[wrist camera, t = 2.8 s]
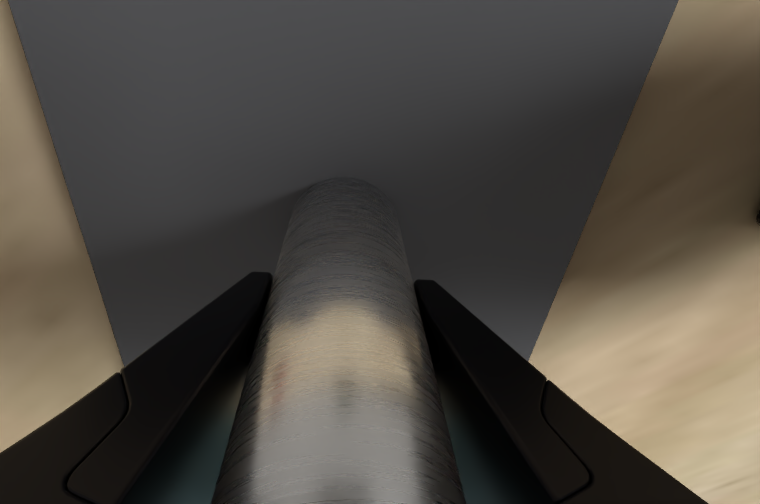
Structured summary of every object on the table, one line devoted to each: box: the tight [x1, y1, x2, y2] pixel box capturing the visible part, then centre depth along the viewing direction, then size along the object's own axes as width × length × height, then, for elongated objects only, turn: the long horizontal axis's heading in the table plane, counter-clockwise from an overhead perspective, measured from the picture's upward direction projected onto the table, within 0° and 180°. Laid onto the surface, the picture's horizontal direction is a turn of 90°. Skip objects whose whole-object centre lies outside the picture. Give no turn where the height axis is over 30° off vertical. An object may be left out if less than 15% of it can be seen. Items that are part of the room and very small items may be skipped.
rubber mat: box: [8, 0, 678, 367], centre depth 11 cm, size 14×14×1 cm
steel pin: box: [211, 177, 466, 504], centre depth 7 cm, size 3×3×10 cm
